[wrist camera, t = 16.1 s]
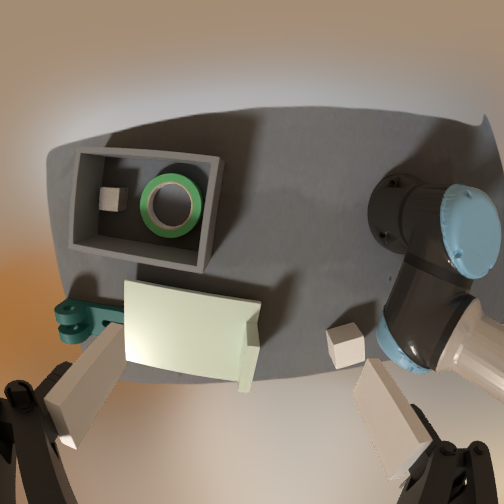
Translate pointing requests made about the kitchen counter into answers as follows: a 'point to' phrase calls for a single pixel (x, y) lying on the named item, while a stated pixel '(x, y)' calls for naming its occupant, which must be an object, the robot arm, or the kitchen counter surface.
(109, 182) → the kitchen counter surface
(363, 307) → the kitchen counter surface
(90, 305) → the bracket
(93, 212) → the tub
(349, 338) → the white cube
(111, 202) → the steel block
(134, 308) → the pale green l-shaped plate
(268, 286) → the kitchen counter surface
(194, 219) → the tape roll
